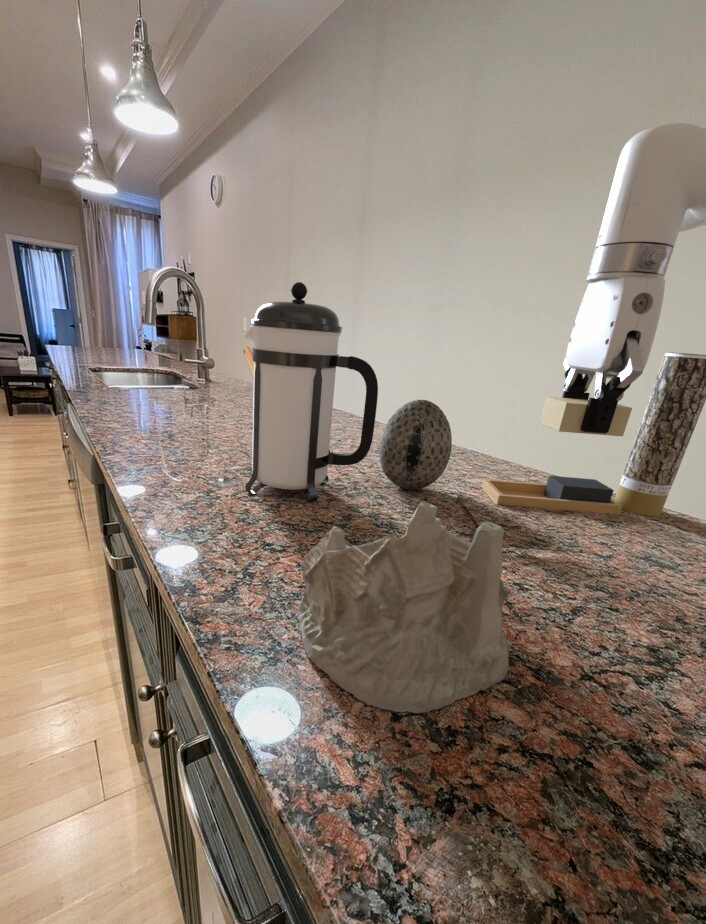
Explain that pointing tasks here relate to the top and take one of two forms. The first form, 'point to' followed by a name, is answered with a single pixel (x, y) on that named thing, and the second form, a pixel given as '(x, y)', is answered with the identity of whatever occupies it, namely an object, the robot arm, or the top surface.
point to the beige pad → (579, 416)
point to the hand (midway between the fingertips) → (580, 425)
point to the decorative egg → (415, 445)
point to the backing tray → (541, 498)
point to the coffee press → (300, 395)
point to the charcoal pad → (577, 489)
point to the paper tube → (663, 434)
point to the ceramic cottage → (407, 614)
